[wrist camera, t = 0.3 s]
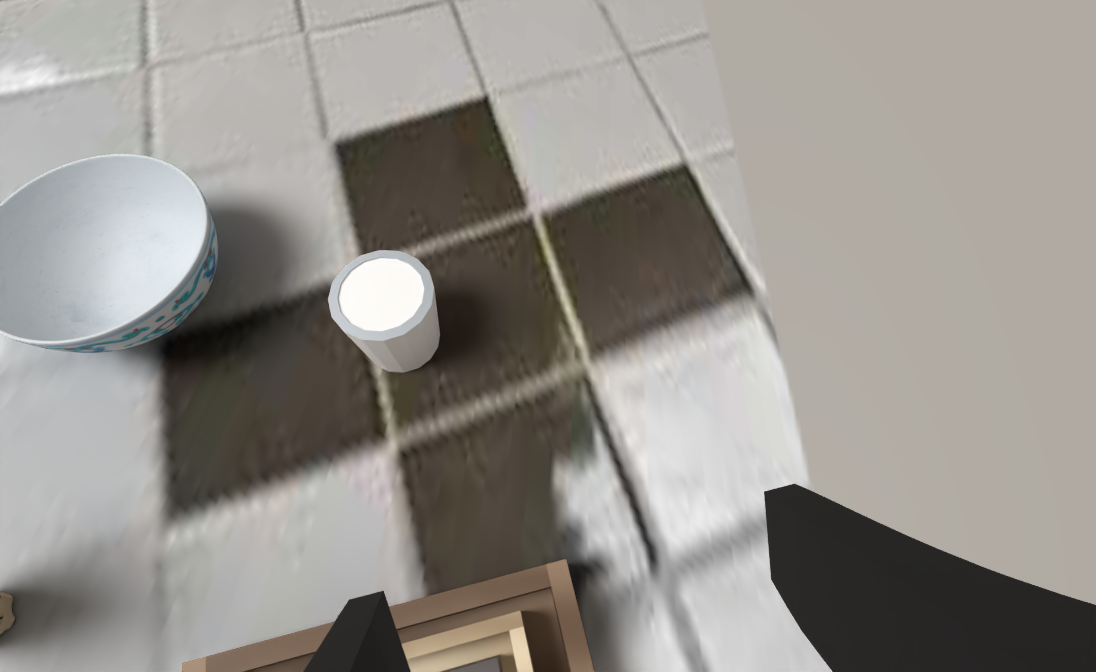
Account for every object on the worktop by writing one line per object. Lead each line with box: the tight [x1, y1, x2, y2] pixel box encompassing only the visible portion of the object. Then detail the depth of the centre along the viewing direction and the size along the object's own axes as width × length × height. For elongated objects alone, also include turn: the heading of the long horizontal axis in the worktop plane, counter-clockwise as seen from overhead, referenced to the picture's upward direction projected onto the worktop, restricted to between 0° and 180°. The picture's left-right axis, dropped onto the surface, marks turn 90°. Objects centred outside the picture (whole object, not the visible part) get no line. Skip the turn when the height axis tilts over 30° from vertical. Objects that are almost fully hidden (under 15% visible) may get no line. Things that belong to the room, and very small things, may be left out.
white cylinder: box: [328, 250, 440, 372], centre depth 41 cm, size 7×7×7 cm
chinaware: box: [0, 154, 218, 353], centre depth 42 cm, size 15×15×8 cm
